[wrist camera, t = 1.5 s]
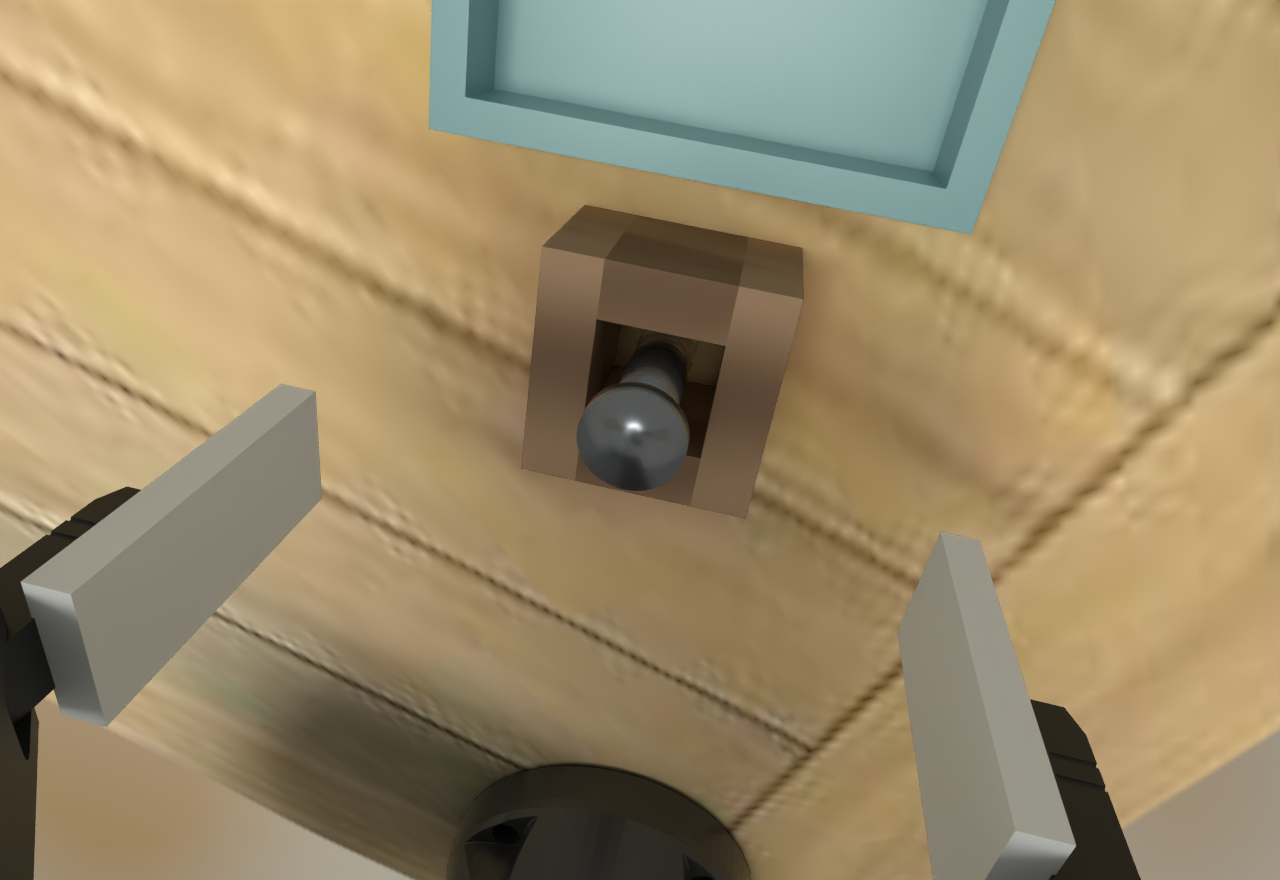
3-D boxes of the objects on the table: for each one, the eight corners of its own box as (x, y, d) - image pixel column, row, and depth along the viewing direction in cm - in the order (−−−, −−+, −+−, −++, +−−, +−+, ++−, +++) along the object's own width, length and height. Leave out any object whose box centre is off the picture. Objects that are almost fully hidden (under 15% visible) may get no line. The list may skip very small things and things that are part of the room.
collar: (752, 440, 29) (745, 518, 24) (561, 399, 29) (521, 468, 25) (802, 248, 25) (803, 299, 21) (584, 205, 26) (542, 246, 22)
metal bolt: (706, 375, 28) (676, 501, 21) (626, 358, 28) (570, 477, 21) (722, 298, 27) (696, 405, 20) (639, 281, 27) (583, 381, 20)
